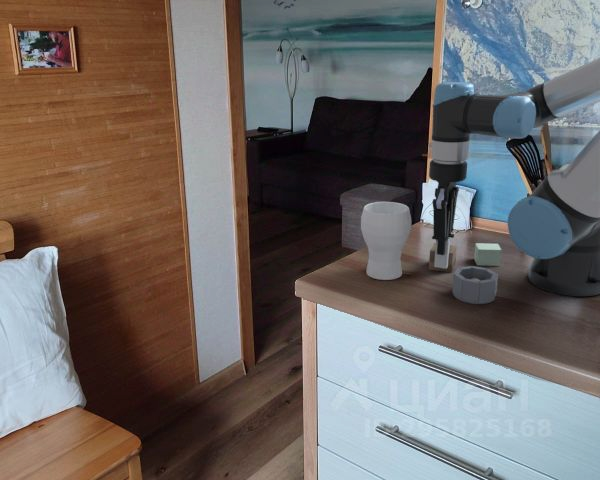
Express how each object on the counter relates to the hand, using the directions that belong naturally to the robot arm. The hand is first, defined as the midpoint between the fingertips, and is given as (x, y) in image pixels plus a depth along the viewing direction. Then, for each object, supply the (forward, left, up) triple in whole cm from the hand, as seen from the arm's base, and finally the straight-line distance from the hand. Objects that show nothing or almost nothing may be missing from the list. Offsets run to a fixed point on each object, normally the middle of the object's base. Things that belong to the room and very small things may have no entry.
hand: (441, 266), depth 126 cm
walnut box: (+1, -3, -1) cm, 4 cm away
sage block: (-8, -10, -2) cm, 13 cm away
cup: (+11, +6, -2) cm, 13 cm away
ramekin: (-9, +9, -1) cm, 13 cm away
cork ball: (-9, +9, +1) cm, 13 cm away
